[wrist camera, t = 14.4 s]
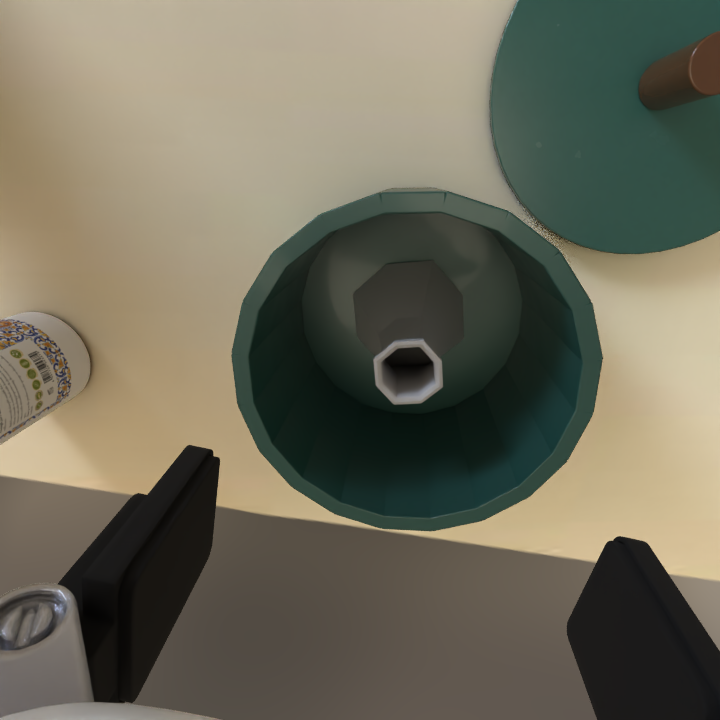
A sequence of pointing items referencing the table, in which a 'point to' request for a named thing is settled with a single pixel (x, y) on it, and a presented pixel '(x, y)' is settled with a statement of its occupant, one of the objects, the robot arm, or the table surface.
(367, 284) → the flask
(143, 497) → the robot arm
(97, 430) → the table surface
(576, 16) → the tin lid
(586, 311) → the tin
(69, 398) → the bath foam
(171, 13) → the table surface
